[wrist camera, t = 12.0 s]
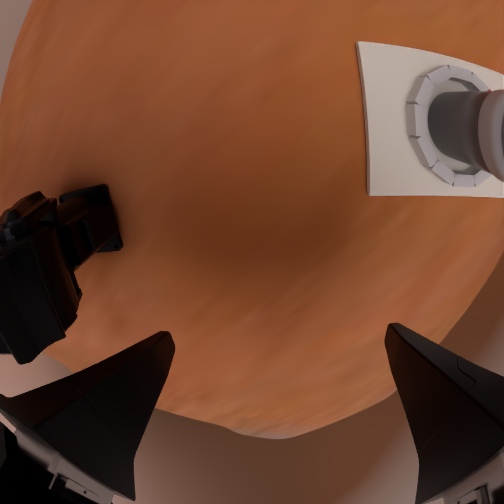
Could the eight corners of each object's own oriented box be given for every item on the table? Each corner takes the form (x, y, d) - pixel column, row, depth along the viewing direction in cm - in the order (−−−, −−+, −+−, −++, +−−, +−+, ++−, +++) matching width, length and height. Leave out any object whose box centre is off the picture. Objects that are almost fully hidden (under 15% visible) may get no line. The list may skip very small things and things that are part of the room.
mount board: (367, 193, 20) (377, 203, 18) (355, 43, 15) (365, 34, 13) (504, 195, 18) (521, 204, 16) (503, 77, 13) (521, 77, 10)
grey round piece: (418, 143, 17) (515, 179, 7) (433, 77, 14) (533, 70, 5) (469, 171, 17) (560, 220, 7) (484, 110, 14) (579, 130, 5)
